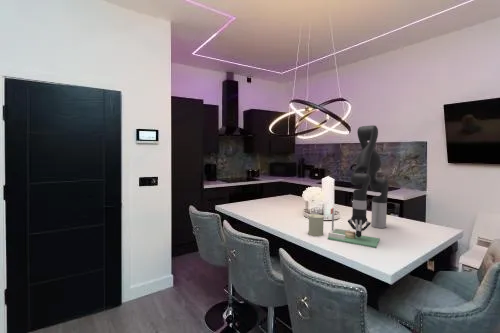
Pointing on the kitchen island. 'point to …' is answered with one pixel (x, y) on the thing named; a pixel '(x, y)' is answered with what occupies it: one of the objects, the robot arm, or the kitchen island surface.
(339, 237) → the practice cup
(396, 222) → the kitchen island surface
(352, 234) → the puck
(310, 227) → the can
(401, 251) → the kitchen island surface
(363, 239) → the putting green
